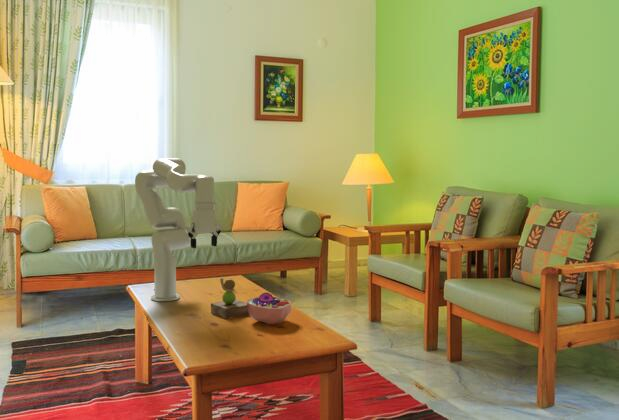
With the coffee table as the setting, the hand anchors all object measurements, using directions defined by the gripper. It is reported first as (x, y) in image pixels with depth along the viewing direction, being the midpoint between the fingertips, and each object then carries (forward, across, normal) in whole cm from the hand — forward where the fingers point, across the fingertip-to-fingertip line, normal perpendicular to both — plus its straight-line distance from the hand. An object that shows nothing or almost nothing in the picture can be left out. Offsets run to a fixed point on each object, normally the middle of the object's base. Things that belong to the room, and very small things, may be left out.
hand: (203, 246), depth 261 cm
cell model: (+26, -11, +32) cm, 43 cm away
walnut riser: (+27, -7, +11) cm, 30 cm away
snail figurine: (+23, -5, +11) cm, 26 cm away
